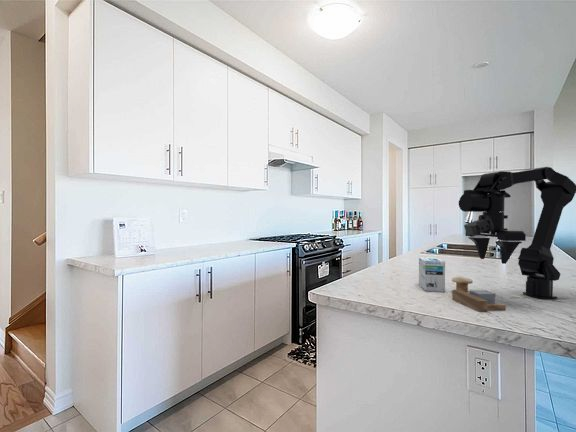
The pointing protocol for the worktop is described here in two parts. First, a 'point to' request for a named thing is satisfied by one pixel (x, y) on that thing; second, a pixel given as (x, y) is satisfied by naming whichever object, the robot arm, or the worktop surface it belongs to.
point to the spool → (462, 283)
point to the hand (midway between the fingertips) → (492, 261)
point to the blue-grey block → (484, 295)
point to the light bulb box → (432, 274)
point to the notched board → (475, 302)
